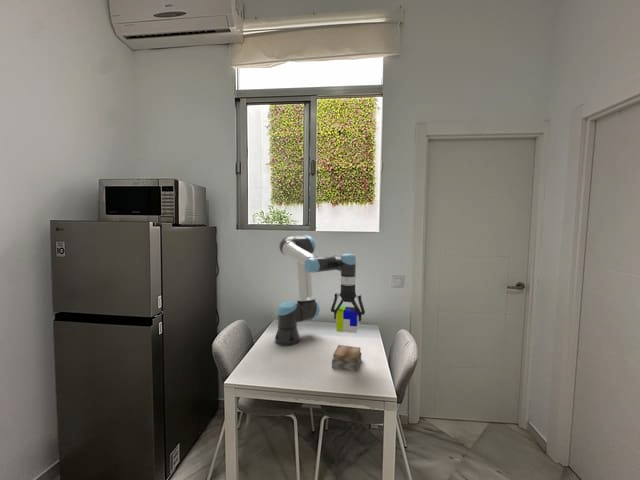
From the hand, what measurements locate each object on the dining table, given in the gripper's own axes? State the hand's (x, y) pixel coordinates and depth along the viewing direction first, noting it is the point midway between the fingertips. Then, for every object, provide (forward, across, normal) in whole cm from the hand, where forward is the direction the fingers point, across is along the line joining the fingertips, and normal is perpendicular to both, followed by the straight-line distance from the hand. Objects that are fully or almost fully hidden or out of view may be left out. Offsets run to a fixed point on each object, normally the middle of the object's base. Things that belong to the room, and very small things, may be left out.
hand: (347, 326), depth 159 cm
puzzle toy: (+2, 0, 0) cm, 2 cm away
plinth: (+20, 0, 0) cm, 20 cm away
